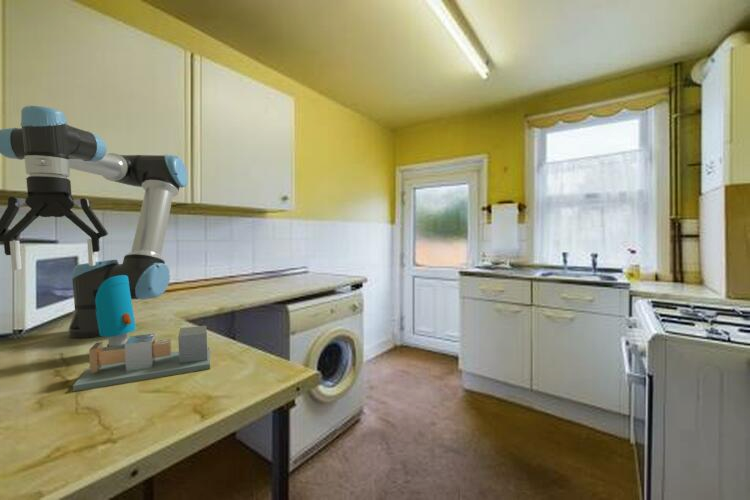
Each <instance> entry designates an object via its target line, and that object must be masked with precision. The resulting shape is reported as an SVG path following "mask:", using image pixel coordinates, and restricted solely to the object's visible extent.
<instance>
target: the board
mask: <svg viewBox="0 0 750 500" xmlns="http://www.w3.org/2000/svg"><path fill="white" fill-rule="evenodd" d="M210 355H211V353H210V347H208V346H207V361H200V362H194V363H188V364H181V365H179V351H174V352H171V355H170V356H165V357H158V358H156V360H155V363H154V365H153V368H151V369H144V370H138V371H131V372H126V362H123V363H116V364H110V365H103V366H102V367H101V368H100V369H99V371H98V372H95V373H91V372H90V365H89V366H88V368H87V369H86V370H85V371H84V372H83V373H82V375H81V376H79V378H78V379H77V381H75V383H73V385H72V391H73V392H78V391H84V390H90V389H97V388H103V387H107V386H108V387H109V386H113V385H121V384H126V383H127V384H128V383H133V382H139V381H144V380H150V379H156V378H163V377H169V376H174V375H181V374H186V373H192V372H198V371H203V370H204V371H205V370H210V369H211V357H210Z"/></svg>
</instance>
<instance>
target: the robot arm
mask: <svg viewBox="0 0 750 500" xmlns="http://www.w3.org/2000/svg"><path fill="white" fill-rule="evenodd" d="M20 115H21V118H20V119H21V120H20V122H21V123H20V126H21V128H20V127H19V128H18V127H12V128H10V127H9V128H2V129H0V154H1V155H2V156H4V157H6V158H8V159H16V160H24V166H25V167H24V168H25V174H26V175H29V176H27V177H25V178H26V179H25V180H26V191H27V197H26V198H22V197H20V198H19V197H17V196H9V197H8V199H7V207H6V209H5V211H4V212H3V214H2V215H1V217H0V240H1V241H2V242H3V247H4V255H5V256H10V261H11V267H12V268H11V270H12V271H18V270H22V266H23V265H22V256H21V244H20V240H16V238H17V237H18V236H19V235H21V233H22V232H24V231H25V229H27V227H29V226H30V224H32V223H33V222H34V221H36V219H38V218H39V217H41V218H50V217H54V218H63V217H66V218H67V220H69V221H71V222H72V223H73V224H75V225H76V227H78V228H79V229H80V230H81V231H83V232H84V233H85V234H86V235H88V236H89V238H88V239H86V240H87V242H86V243H87V244H86V245H87V255H88V256H87V258H88V262H87V263H79V264H77V265H75V266H74V267H73V269H72V277H71V280H72V289H73V291H72V292H73V299H74V313H73V315H72V318H71V320H70V324H69V327H68V337H70V338H75V339H85V338H86V339H87V338H95V337H96V338H97V337H101V336H100V334H99V329H98V322H97V316H96V310H95V303H94V296H93V290H94V289H99V287H100V285H101V284H102V283H103V282H104V281H105V280H106V279H108V278H110V277H114V276H119V275H127V276H128V280H129V286H130V295H131V300H142V301H143V300H144V301H145V300H151V299H157V298H159V297H160V296H162V295H163V294H164V293H165V292H166V290H167V289H168V286H169V284H170V279H171V274H170V272H171V271H170V269H169V267H168V265H166V264H165V263H166V260H164V258H163V257H162V252H163V248H164V242H165V237H166V231H167V227H168V222H169V217H170V213H171V207H172V202H173V199H174V197H177V196H178V194H179V192H180V188H185V187H186V186H187V185H188V181H189V176H188V170H187V167H186V165H185V163H184V161H183V160H182V159H181V158H180V157H179V156H177V155H170V154H169V155H168V154H164V155H162V154H159V155H154V154H153V155H151V154H150V155H149V154H127V155H126V154H118V153H114V152H110V153H109V152H108V153H107V145H106V142H105V141H104V139H103V138H102V137H100V136H99V135H96V134H94V133H93V132H91V131H89V130H87V131H86V130H83V129H80V128H77V127H74V126H72V125H69V124H67V122H68V121H67V119H66V115H65V113H63V112H62V111H61V110H58V109H55V108H52V107H51V108H50V107H48V106H47V107H46V106H41V105H26V106H24V107H22V108H21V113H20ZM70 169H72V170H77V171H80V172H84V173H89V174H92V175H98V176H101V177H103V178H104V179H106V180H107V181H110V182H114V183H119V184H123V185H128V186H133V187H137V188H138V187H139V188H142V189H143V190H144V196H143V200H142V204H141V209H140V213H139V217H138V220H137V225H136V230H135V234H134V238H133V243H132V247H131V251H130V252H129V253H127V254H125V255H124V256H123V261H122V263H119V261H118V259H110V260H102V261H101V260H100V261H96V253H98V252H100V250H101V249H100V239H101V238H103V237H106V236H108V234H109V233H108V231H107V229H106V228H105V227H104V225H103V224H102V222H101V220H99V217H98V216H97V215H96V213H94V211H93V209H92V208H91V204H90V200H89V199H88V198H83V197H82V198H79V199H74V198H73V196H72V185H71V184H72V183H71V180H70V179H69V177H71V172H70ZM25 204H26V205H27V206H28V207H29V208H30V210H29V211H28V212H26V214H25V216H23V217H22V218H21V219H20V220H19V221H18V222H17V223H16V224H15V225H14V226H13V227H11V229H10V230H9V231H8V229H9V227H10V226H11V225H12V223H13V221H14V219H15V217H16V215H17V214H18V212H19V210H20V209H21V208H22V207H24V205H25ZM75 205H77V207H78V208H80V209H81V210H82V212H84V214H85V216H86V217H87V218H88V220H89V222H90V223H91V224H92V226H93V227H94V229H95V230H97V232H96V231H95V230H94V229H93V228H92V227H90V226H89V225H88V224H86V223H85V222H84V221H83V220H82V219H81V218H80V217H79V216H78V215H77V214H76V213H74V211H72V210H71V209H72V208H73V207H74V206H75ZM6 232H7V233H6Z"/></svg>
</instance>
